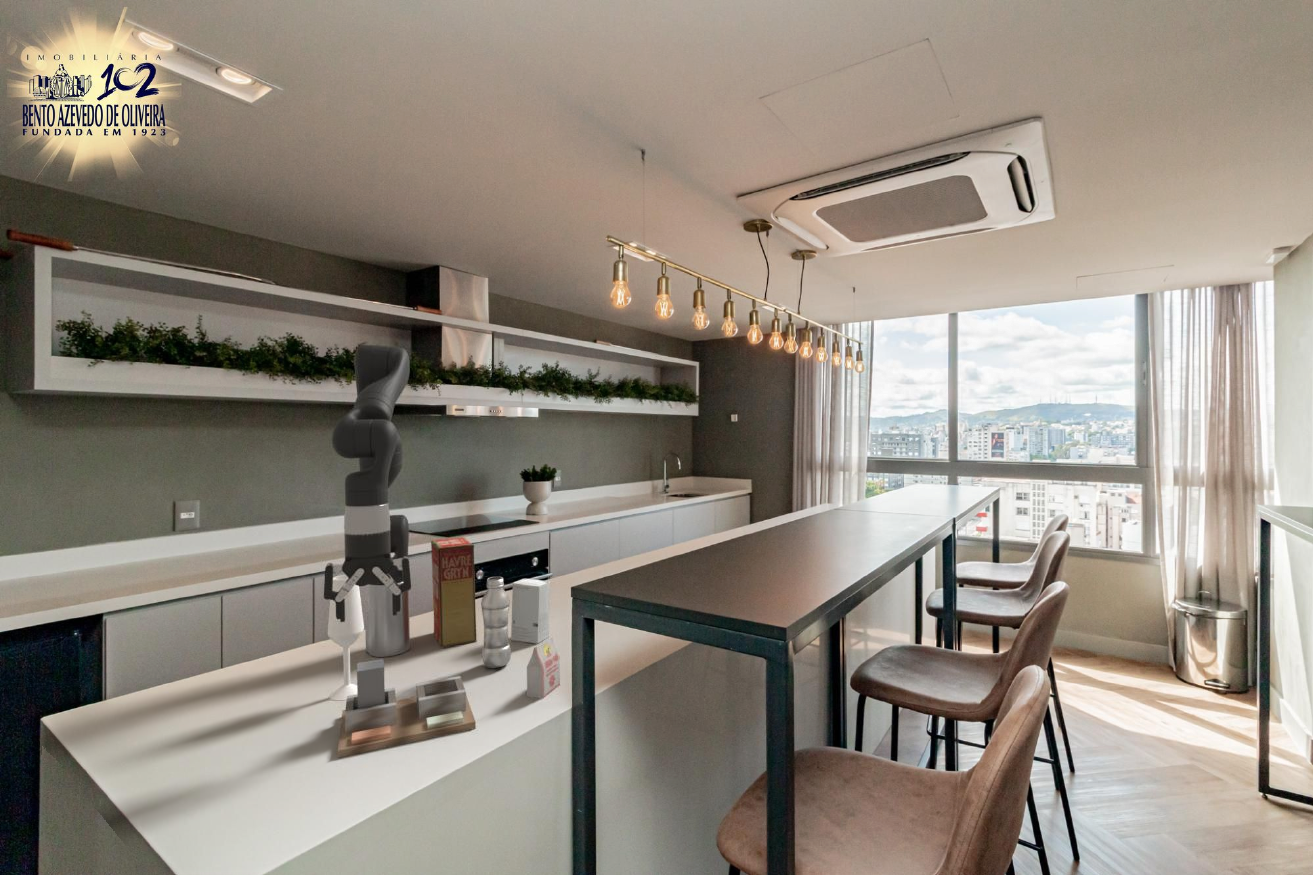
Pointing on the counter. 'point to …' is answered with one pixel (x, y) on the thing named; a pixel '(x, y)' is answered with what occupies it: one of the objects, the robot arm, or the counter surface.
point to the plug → (370, 683)
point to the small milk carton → (543, 670)
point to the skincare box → (530, 611)
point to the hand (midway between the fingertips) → (369, 617)
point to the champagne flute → (345, 632)
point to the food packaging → (453, 591)
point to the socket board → (406, 717)
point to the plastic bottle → (495, 624)
